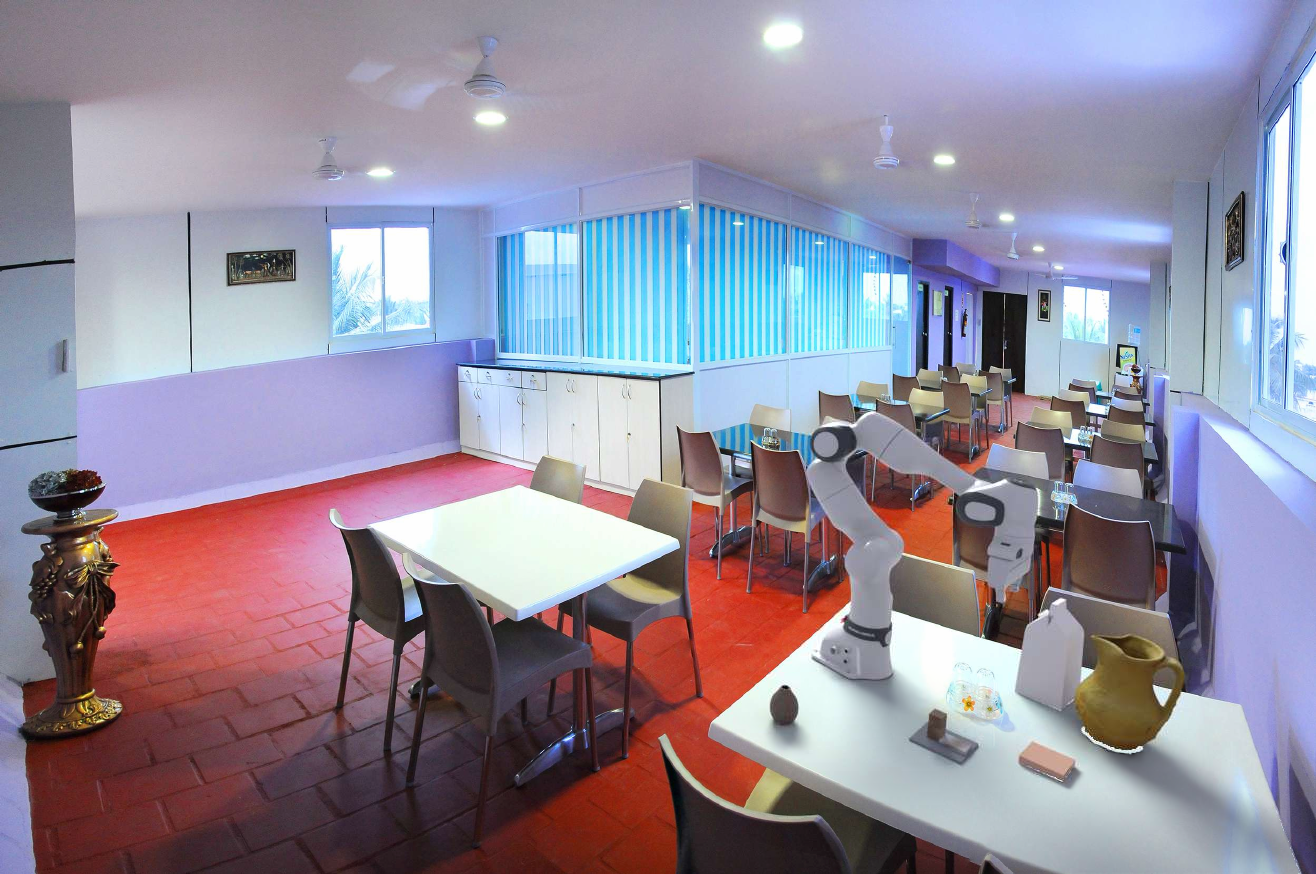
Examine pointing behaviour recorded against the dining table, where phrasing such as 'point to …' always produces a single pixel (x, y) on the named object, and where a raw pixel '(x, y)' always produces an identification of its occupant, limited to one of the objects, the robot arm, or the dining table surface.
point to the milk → (1051, 657)
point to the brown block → (938, 733)
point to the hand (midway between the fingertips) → (1007, 596)
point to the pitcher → (1126, 692)
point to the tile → (1046, 760)
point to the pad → (933, 745)
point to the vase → (784, 705)
